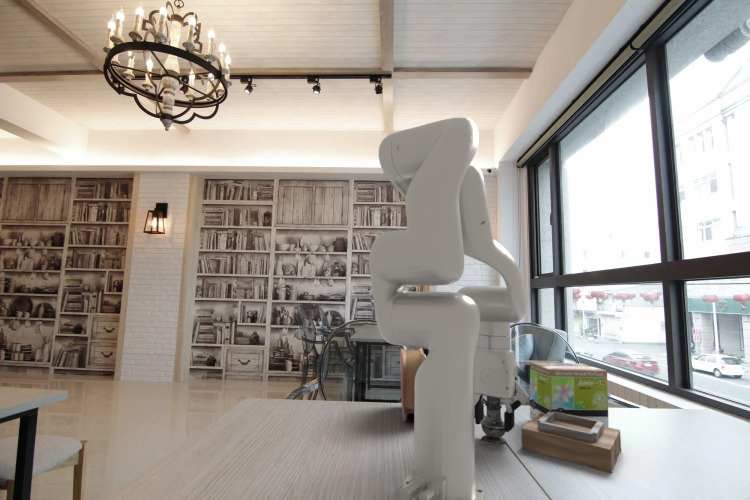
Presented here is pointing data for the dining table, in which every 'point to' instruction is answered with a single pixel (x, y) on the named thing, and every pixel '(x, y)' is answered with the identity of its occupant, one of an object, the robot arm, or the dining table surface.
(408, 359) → the face sculpture
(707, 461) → the dining table surface
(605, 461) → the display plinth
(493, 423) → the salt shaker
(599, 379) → the tea box
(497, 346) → the robot arm
